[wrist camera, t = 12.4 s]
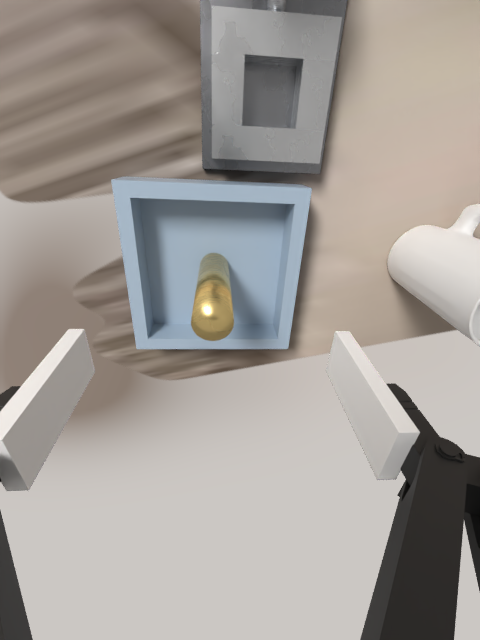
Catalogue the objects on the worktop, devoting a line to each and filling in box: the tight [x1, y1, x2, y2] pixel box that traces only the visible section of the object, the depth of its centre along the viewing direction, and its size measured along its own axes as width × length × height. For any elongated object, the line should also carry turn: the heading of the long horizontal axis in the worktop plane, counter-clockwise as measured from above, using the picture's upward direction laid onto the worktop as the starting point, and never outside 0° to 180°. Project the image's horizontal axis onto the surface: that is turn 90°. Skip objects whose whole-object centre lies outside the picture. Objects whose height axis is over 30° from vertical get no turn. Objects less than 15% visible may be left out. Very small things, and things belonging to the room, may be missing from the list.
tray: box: [111, 176, 312, 349], centre depth 28 cm, size 15×15×4 cm
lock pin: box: [191, 253, 234, 341], centre depth 24 cm, size 3×3×11 cm
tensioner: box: [200, 0, 347, 174], centre depth 18 cm, size 17×10×8 cm, turn 177°
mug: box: [387, 203, 480, 346], centre depth 24 cm, size 10×7×12 cm, turn 163°
